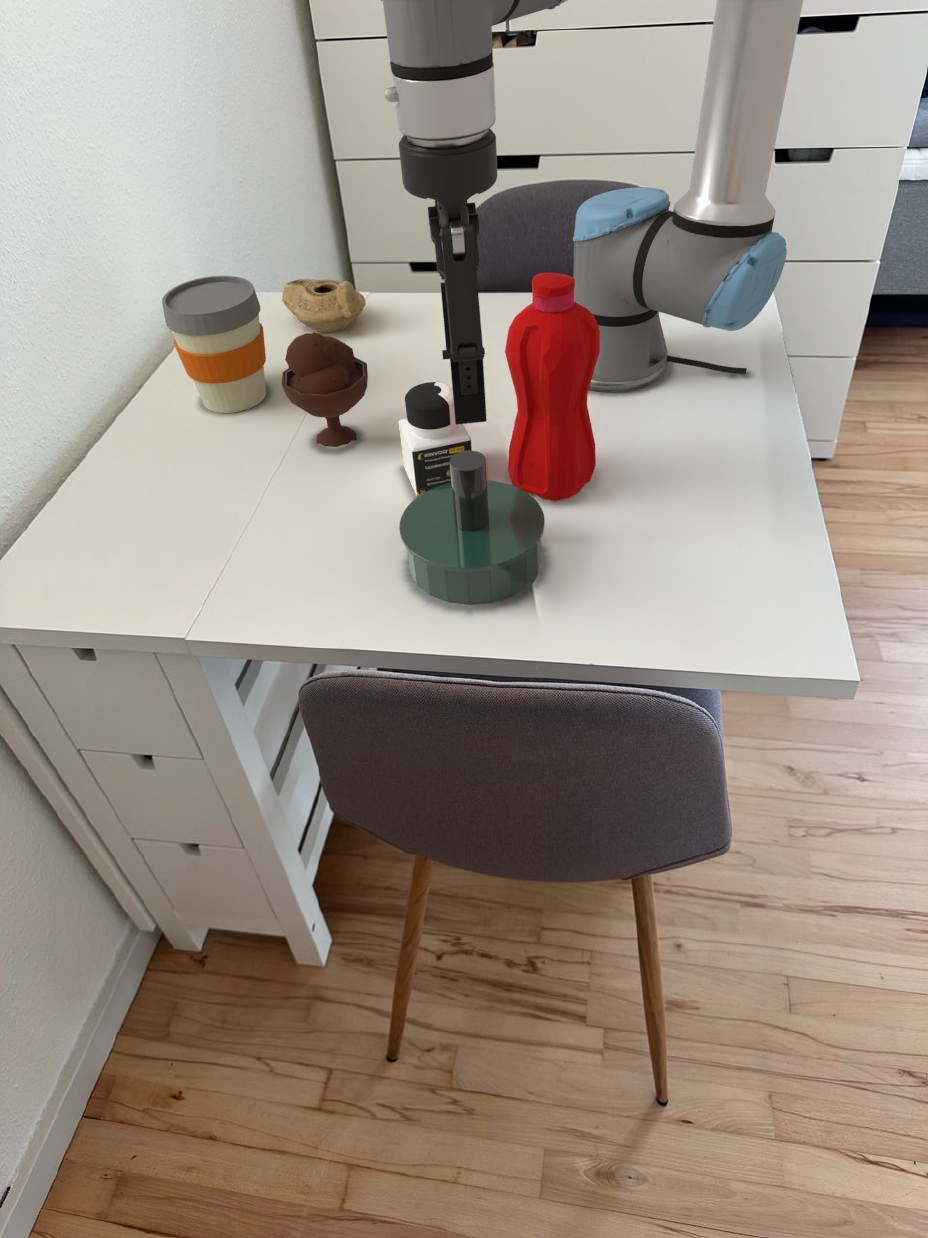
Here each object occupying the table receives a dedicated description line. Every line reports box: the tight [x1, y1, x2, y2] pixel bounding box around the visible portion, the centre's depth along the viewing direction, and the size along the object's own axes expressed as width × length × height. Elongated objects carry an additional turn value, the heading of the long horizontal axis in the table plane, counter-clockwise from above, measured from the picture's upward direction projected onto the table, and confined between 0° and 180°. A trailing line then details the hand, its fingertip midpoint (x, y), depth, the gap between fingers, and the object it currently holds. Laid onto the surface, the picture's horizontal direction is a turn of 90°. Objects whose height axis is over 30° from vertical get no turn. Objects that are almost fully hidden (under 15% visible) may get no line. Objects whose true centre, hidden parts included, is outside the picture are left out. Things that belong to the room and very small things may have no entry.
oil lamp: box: [281, 278, 367, 333], centre depth 141 cm, size 11×15×8 cm
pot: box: [406, 538, 542, 606], centre depth 97 cm, size 14×14×5 cm
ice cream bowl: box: [281, 332, 369, 448], centre depth 113 cm, size 11×11×15 cm
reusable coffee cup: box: [161, 275, 267, 414], centre depth 123 cm, size 13×13×15 cm
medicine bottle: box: [398, 381, 473, 497], centre depth 107 cm, size 7×7×12 cm
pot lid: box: [398, 450, 546, 572], centre depth 92 cm, size 15×15×9 cm
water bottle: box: [504, 272, 600, 502], centre depth 101 cm, size 9×11×25 cm
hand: (465, 382), depth 84 cm, fingers open, 13 cm apart
